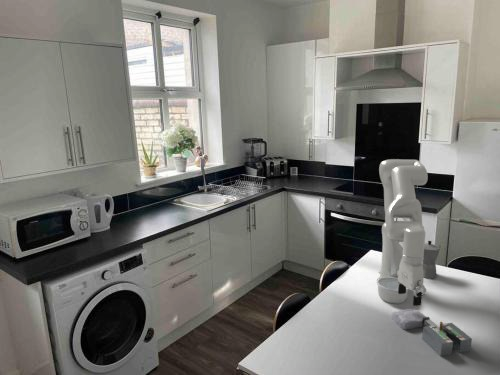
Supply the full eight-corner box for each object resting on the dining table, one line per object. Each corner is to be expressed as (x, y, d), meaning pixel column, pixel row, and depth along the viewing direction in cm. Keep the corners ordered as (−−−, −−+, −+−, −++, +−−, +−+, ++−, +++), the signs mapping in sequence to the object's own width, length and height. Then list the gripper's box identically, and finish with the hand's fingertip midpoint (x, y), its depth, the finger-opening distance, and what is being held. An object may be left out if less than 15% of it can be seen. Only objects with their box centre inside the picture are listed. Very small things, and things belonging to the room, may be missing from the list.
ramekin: (403, 290, 177) (404, 277, 176) (411, 306, 164) (413, 291, 163) (373, 289, 179) (374, 276, 177) (380, 304, 166) (381, 290, 164)
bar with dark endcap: (422, 324, 149) (423, 310, 148) (427, 323, 150) (429, 309, 148) (441, 341, 139) (442, 326, 138) (446, 340, 140) (448, 325, 138)
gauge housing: (422, 338, 142) (423, 326, 141) (450, 334, 145) (451, 321, 143) (440, 356, 133) (442, 342, 131) (470, 351, 135) (472, 337, 134)
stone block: (388, 322, 156) (404, 331, 147) (388, 310, 156) (404, 319, 147) (413, 318, 160) (430, 327, 150) (413, 306, 159) (430, 315, 150)
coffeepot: (431, 269, 198) (435, 236, 194) (444, 277, 189) (448, 243, 185) (405, 272, 195) (408, 239, 191) (416, 280, 186) (420, 246, 182)
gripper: (391, 251, 156) (388, 290, 159) (417, 268, 139) (414, 311, 143) (407, 249, 157) (404, 288, 161) (436, 266, 141) (432, 309, 144)
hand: (409, 299), depth 152 cm, fingers open, 9 cm apart
